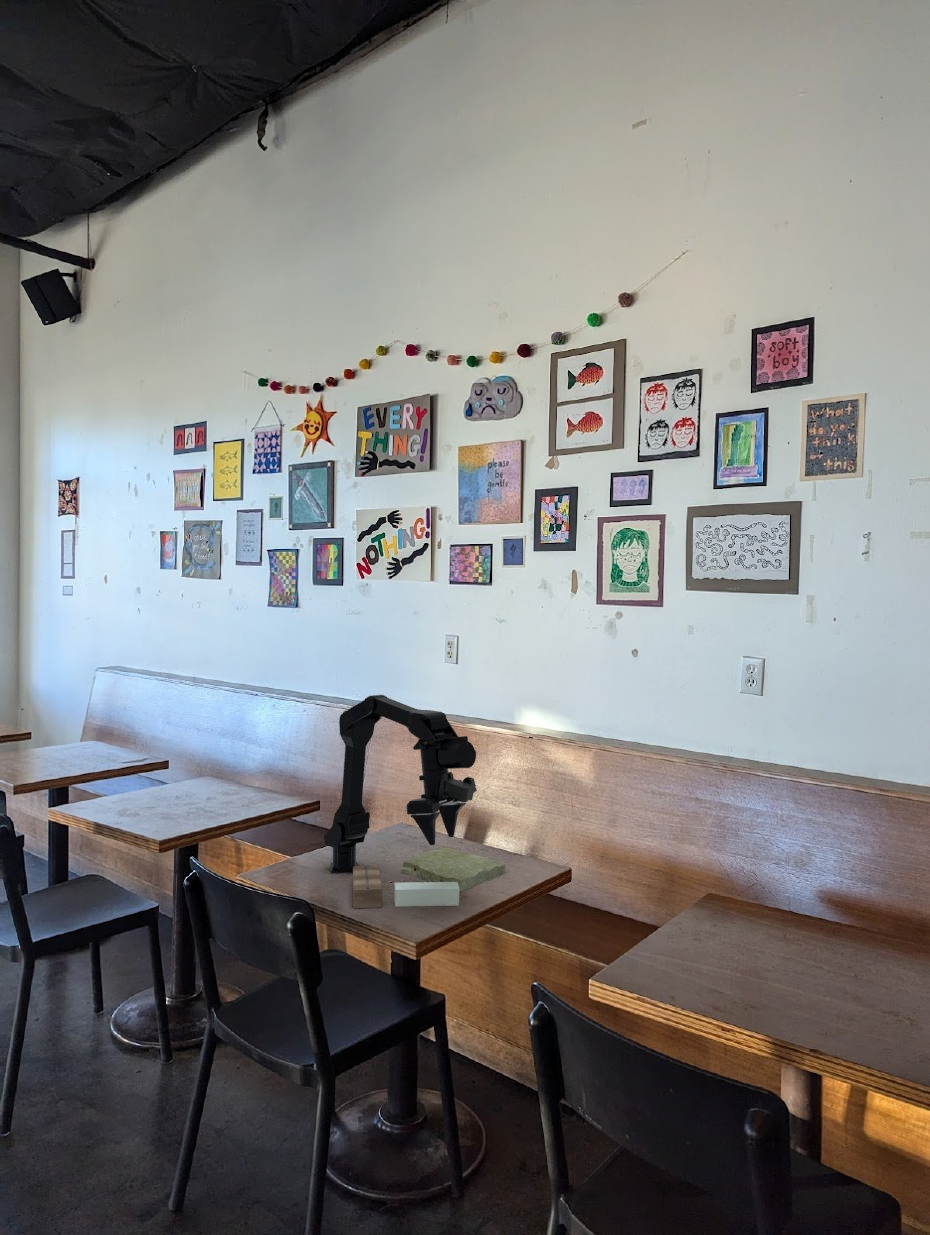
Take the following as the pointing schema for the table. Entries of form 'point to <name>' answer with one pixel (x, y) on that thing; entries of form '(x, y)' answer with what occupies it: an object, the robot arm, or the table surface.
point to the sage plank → (426, 894)
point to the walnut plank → (366, 887)
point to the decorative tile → (453, 867)
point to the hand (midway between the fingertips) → (442, 841)
